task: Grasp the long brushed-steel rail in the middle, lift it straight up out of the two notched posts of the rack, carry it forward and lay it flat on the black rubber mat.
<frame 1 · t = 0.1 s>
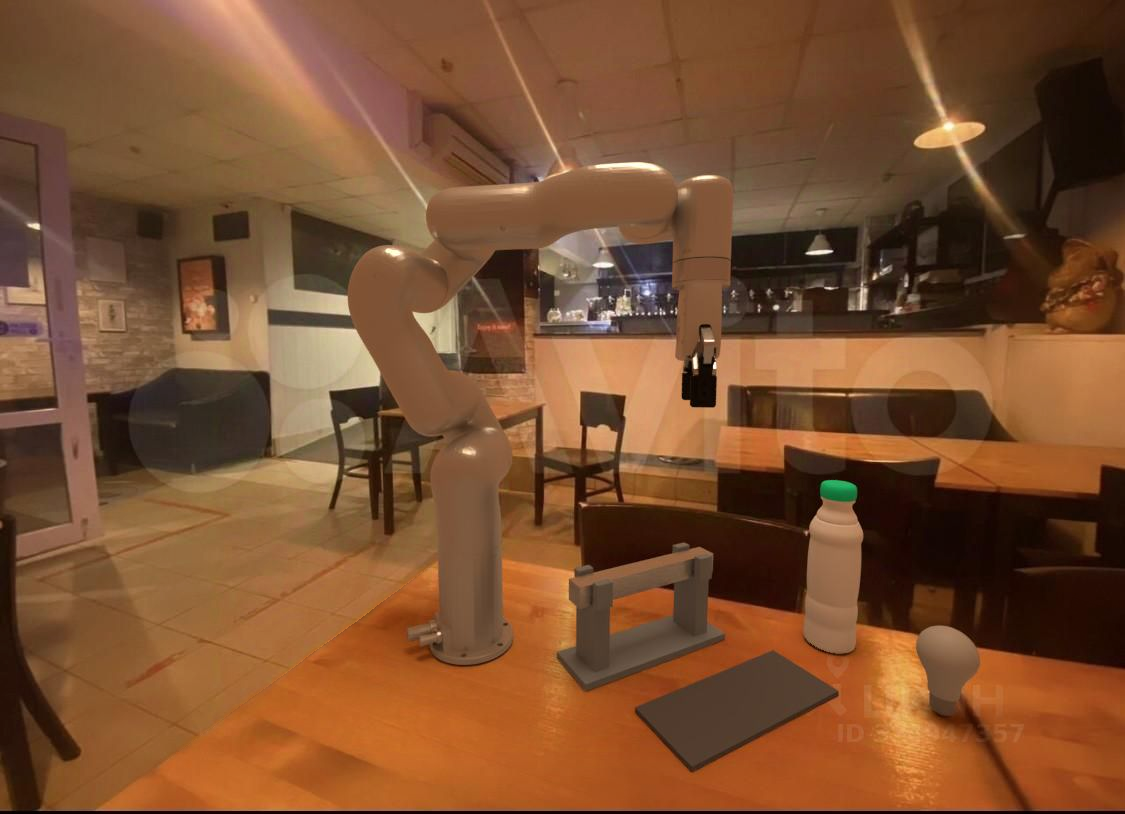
hand: (697, 403, 68), 37 cm above the table, tool pointing down, fingers open, 9 cm apart
water bottle: (828, 643, 76), on the table
rack: (643, 648, 74), on the table
rail: (644, 584, 73), point 10 cm above the table, touching rack
lightbulb: (941, 715, 61), on the table
mat: (739, 703, 62), on the table
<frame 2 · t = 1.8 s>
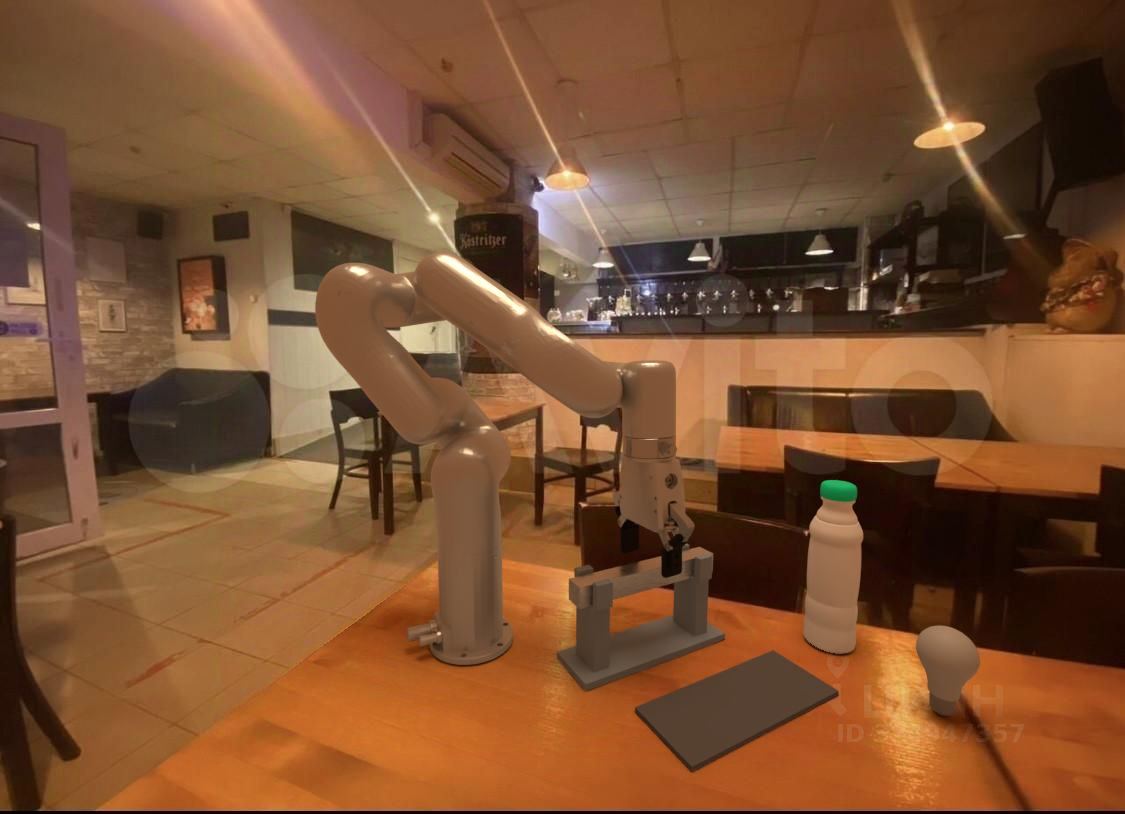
hand: (649, 562, 72), 13 cm above the table, tool pointing down, fingers open, 9 cm apart
nothing on the table moved.
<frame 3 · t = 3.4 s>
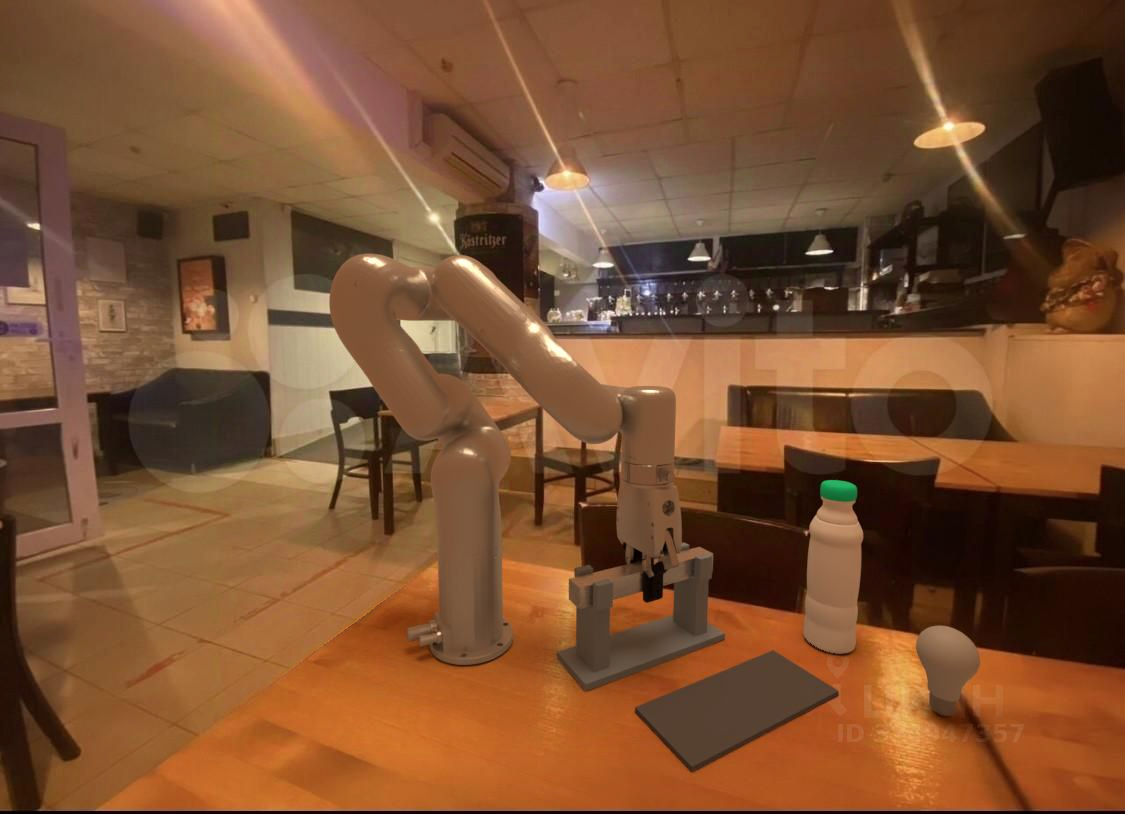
hand: (644, 593, 73), 9 cm above the table, tool pointing down, fingers closed on rail, 3 cm apart
rail: (644, 584, 73), point 10 cm above the table, touching gripper, rack
everything else where it was.
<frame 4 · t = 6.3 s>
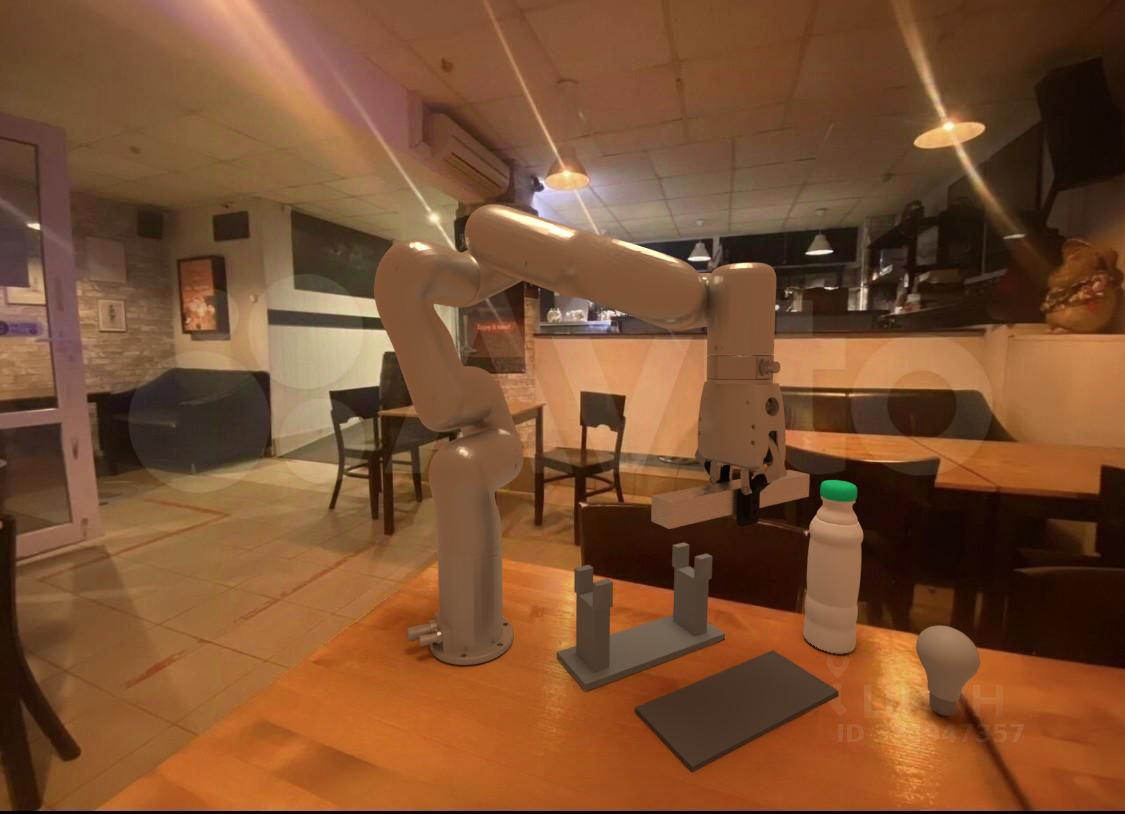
hand: (735, 518, 61), 24 cm above the table, tool pointing down, fingers closed on rail, 3 cm apart
rail: (735, 507, 61), point 25 cm above the table, touching gripper
everything else where it was.
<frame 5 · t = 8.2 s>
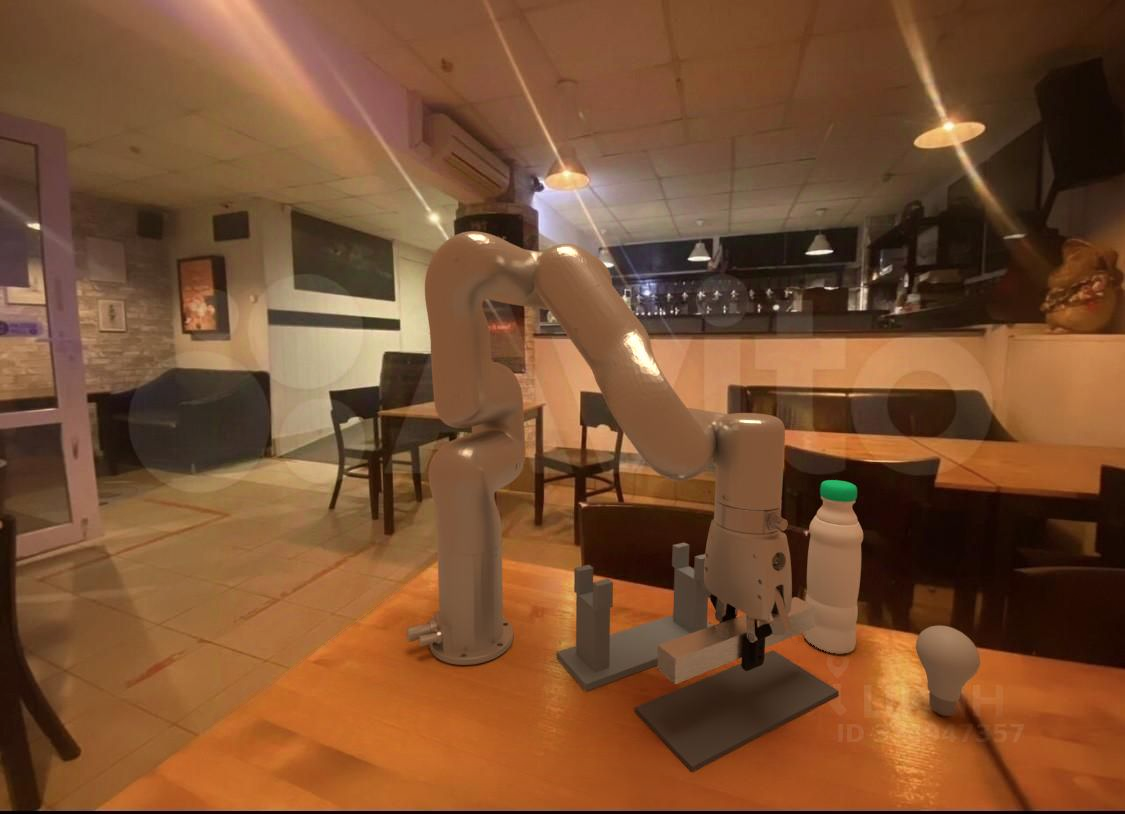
hand: (740, 657, 62), 6 cm above the table, tool pointing down, fingers closed on rail, 3 cm apart
rail: (741, 647, 62), point 8 cm above the table, touching gripper
everything else where it was.
when the fingers open (1 cm above the table, at t = 9.5 s): rail drops 2 cm, resting on mat.
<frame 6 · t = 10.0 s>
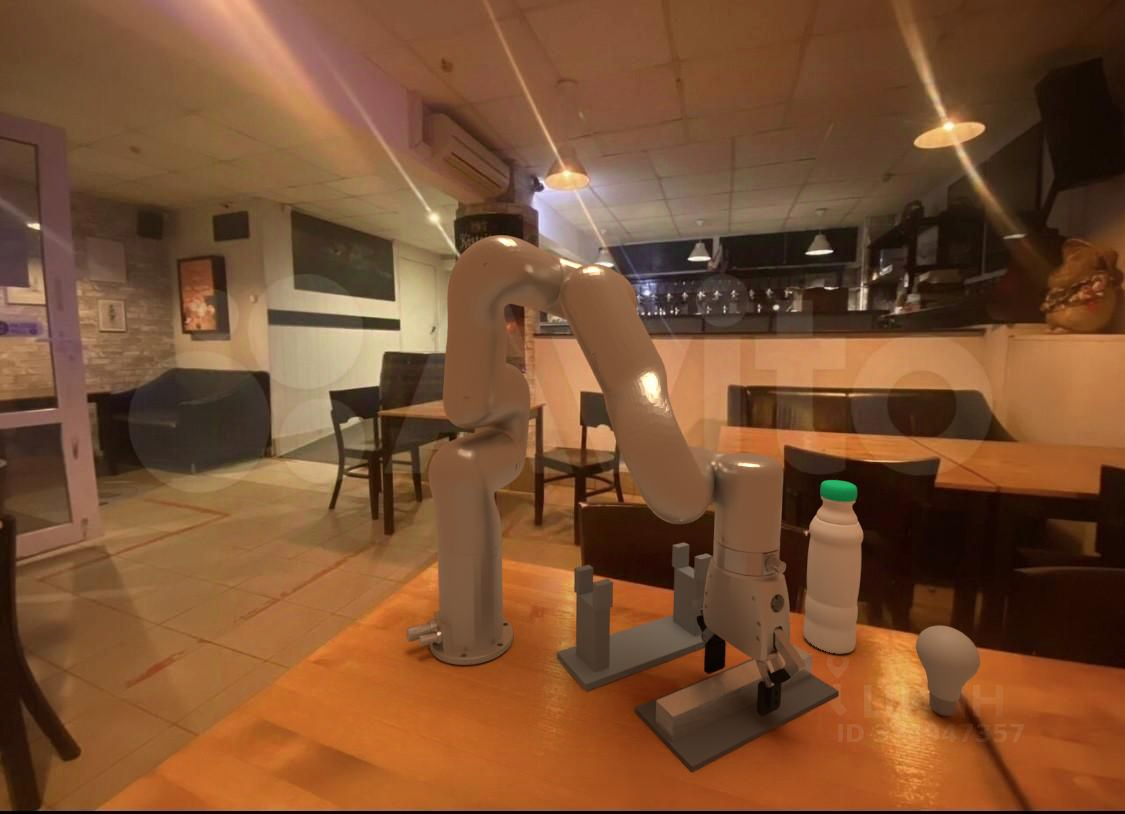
hand: (739, 688, 62), 2 cm above the table, tool pointing down, fingers open, 8 cm apart
rail: (738, 698, 62), point 1 cm above the table, touching mat
everything else where it was.
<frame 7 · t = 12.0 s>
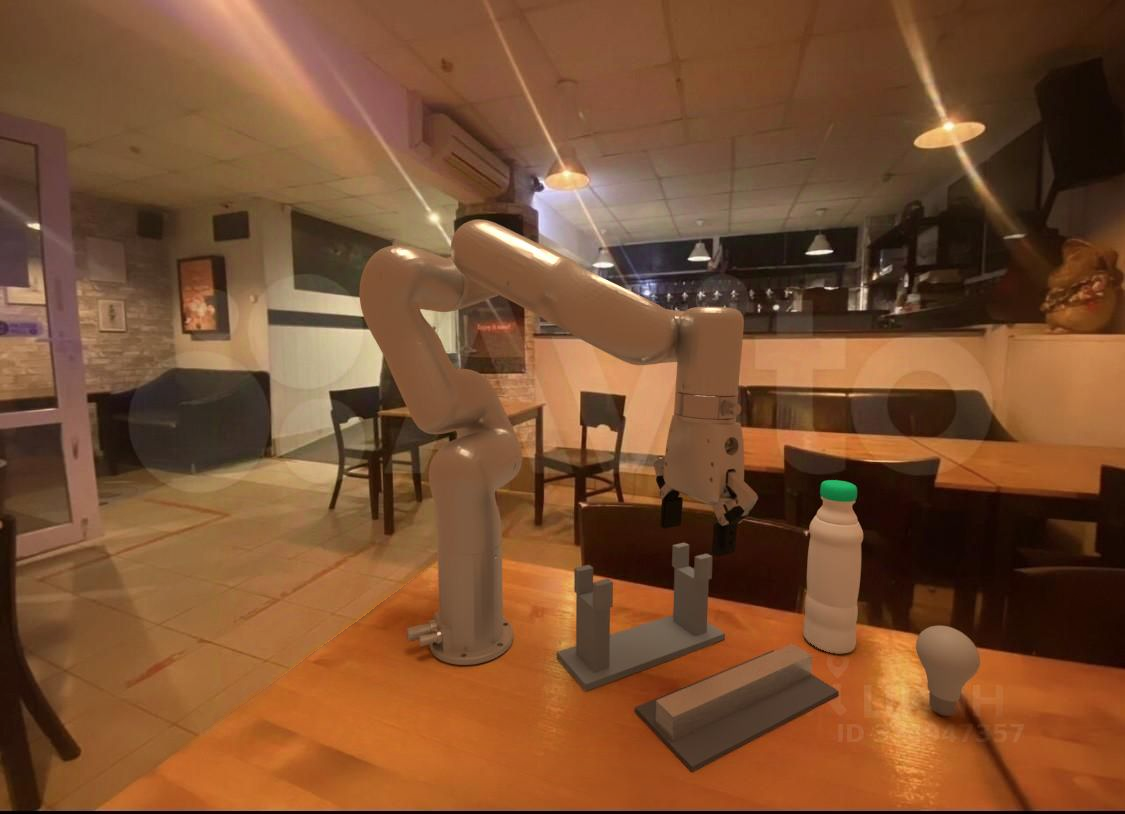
hand: (695, 539, 64), 20 cm above the table, tool pointing down, fingers open, 9 cm apart
nothing on the table moved.
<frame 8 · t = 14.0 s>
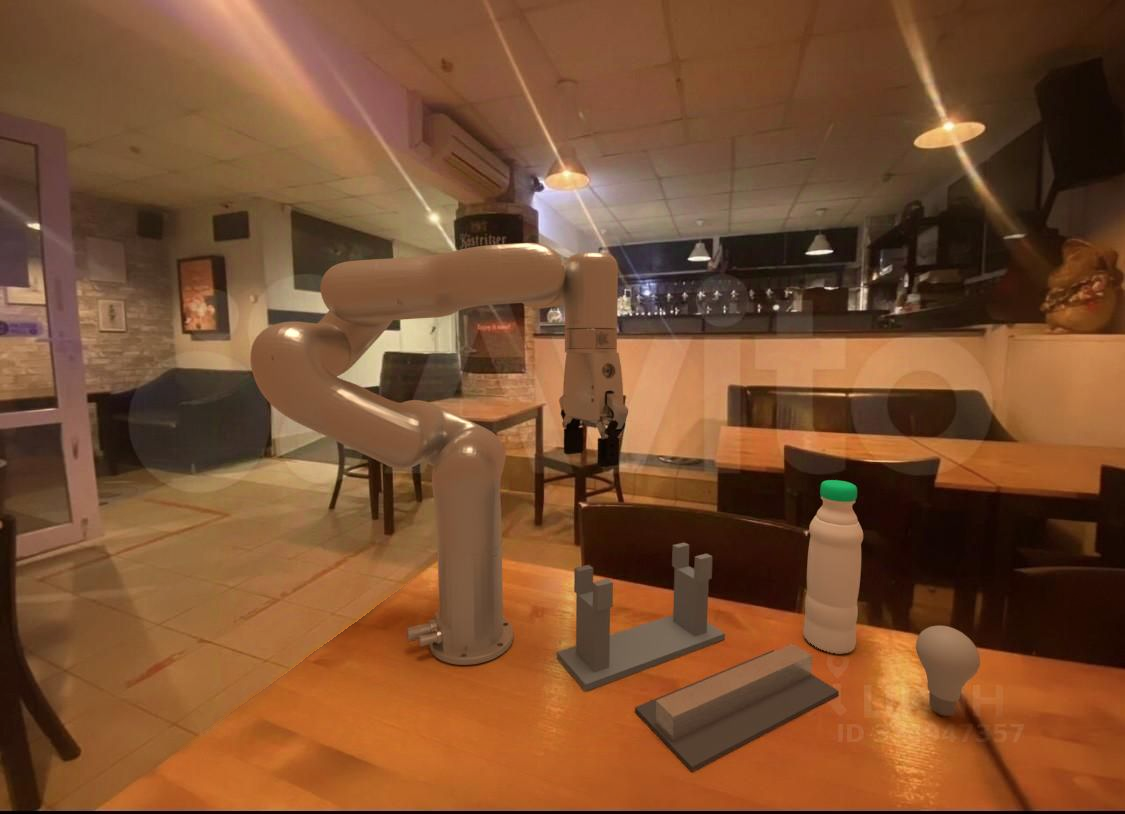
hand: (589, 459, 73), 28 cm above the table, tool pointing down, fingers open, 9 cm apart
nothing on the table moved.
at the end: rail inside the target area on the mat (0.1 cm from its centre), point 0.6 cm above the mat's base; rail tilted 0°; the gripper is holding nothing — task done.
